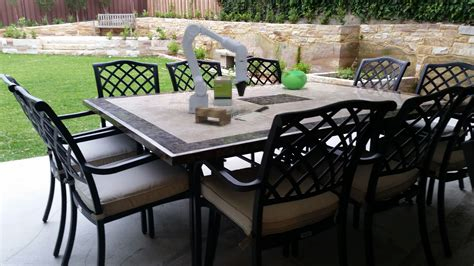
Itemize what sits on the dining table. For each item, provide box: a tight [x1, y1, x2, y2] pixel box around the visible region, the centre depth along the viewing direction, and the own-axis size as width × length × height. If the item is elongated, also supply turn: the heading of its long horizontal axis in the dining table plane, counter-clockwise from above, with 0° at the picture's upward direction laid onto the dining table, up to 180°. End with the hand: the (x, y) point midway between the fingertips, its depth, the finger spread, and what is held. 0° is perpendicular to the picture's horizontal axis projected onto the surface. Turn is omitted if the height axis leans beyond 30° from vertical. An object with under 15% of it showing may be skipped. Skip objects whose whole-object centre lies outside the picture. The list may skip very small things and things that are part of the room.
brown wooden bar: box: [226, 109, 240, 119], centre depth 191 cm, size 4×14×2 cm, turn 157°
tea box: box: [213, 75, 233, 107], centre depth 222 cm, size 15×10×15 cm
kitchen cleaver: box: [234, 105, 270, 122], centre depth 196 cm, size 31×2×10 cm
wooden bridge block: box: [194, 106, 232, 127], centre depth 178 cm, size 14×8×7 cm, turn 61°
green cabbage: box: [280, 67, 308, 90], centre depth 275 cm, size 18×17×15 cm
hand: (241, 96), depth 199 cm, fingers closed
